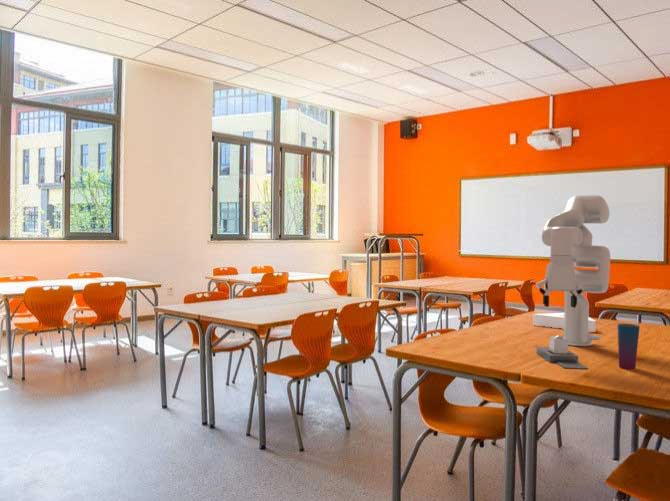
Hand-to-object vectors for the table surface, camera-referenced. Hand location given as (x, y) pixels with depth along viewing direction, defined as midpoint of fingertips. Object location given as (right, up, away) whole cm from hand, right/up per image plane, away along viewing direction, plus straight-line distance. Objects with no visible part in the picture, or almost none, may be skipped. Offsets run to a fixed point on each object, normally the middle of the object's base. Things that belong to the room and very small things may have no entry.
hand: (559, 306), depth 205 cm
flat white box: (+38, -19, +78) cm, 89 cm away
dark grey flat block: (0, -20, +3) cm, 20 cm away
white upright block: (0, -20, +1) cm, 20 cm away
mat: (0, -20, -10) cm, 22 cm away
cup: (+19, -20, -11) cm, 30 cm away
